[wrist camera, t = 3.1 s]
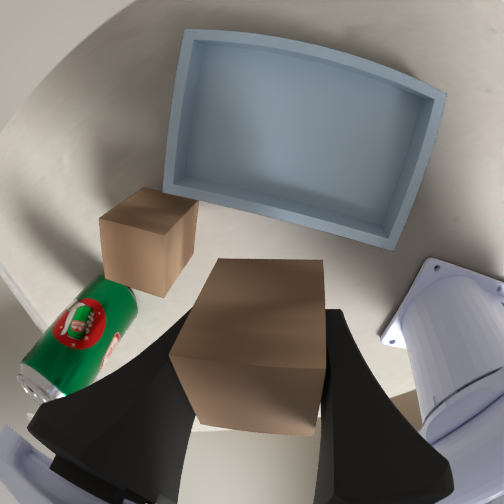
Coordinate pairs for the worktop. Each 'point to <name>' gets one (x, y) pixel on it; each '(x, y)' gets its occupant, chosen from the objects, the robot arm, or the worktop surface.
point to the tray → (299, 133)
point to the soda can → (78, 341)
